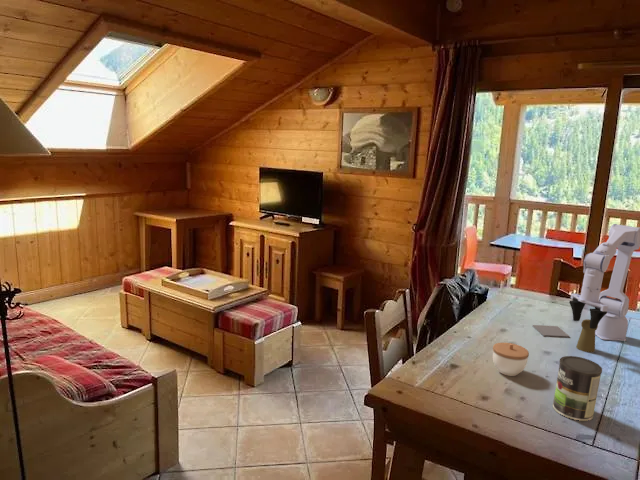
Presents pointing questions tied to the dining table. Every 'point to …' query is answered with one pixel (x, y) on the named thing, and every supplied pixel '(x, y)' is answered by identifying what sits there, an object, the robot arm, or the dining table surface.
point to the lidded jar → (509, 358)
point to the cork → (586, 337)
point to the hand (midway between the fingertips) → (584, 324)
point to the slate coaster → (550, 331)
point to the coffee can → (577, 388)
